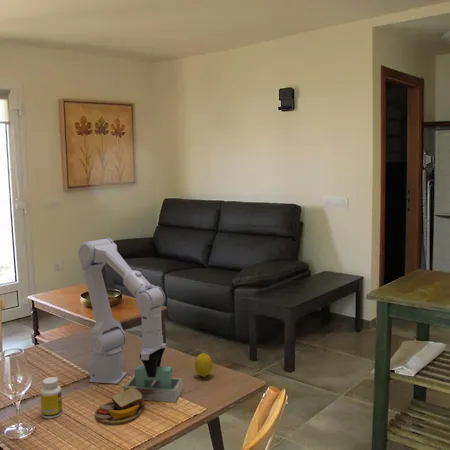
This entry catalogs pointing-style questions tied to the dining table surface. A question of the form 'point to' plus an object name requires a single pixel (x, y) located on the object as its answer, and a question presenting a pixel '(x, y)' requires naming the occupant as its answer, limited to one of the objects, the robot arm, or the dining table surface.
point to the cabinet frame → (158, 390)
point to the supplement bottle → (51, 398)
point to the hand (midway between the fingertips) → (153, 374)
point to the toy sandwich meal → (121, 407)
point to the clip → (161, 375)
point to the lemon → (203, 364)
